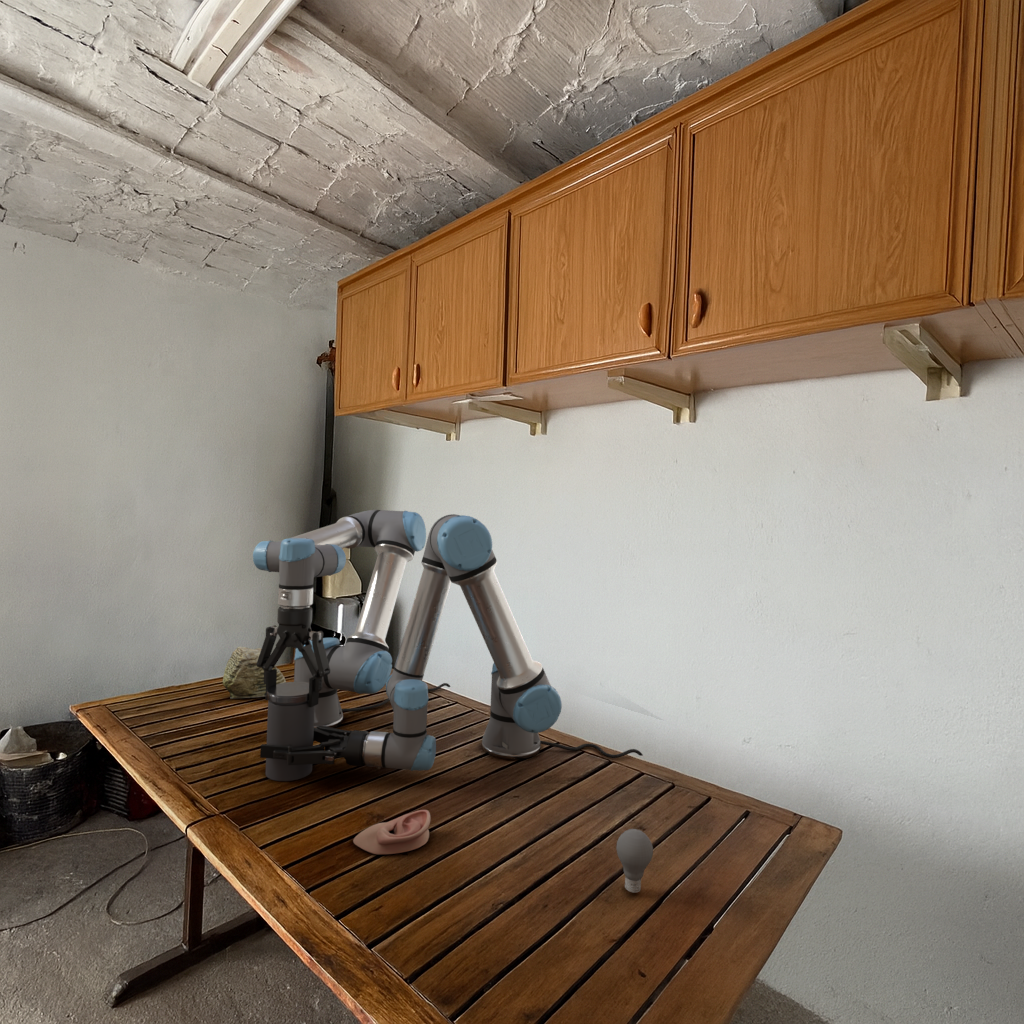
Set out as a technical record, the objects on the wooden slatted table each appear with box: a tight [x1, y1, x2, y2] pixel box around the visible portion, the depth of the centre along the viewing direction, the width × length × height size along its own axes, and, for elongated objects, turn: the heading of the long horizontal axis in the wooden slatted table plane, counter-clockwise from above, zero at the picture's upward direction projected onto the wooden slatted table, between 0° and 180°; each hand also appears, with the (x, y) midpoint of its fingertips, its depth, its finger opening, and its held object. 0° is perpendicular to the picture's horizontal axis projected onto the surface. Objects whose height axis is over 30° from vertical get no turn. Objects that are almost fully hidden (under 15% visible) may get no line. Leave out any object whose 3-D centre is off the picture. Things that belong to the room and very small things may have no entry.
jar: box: [265, 700, 315, 782], centre depth 145 cm, size 10×10×18 cm
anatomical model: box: [352, 809, 431, 856], centre depth 118 cm, size 13×4×12 cm
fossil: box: [222, 646, 287, 699], centre depth 198 cm, size 9×18×15 cm, turn 132°
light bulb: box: [615, 828, 654, 894], centre depth 106 cm, size 6×6×10 cm
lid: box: [265, 681, 309, 704], centre depth 145 cm, size 11×11×2 cm
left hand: (291, 702), depth 145 cm, fingers closed on lid, 11 cm apart
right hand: (272, 741), depth 145 cm, fingers closed on jar, 10 cm apart
